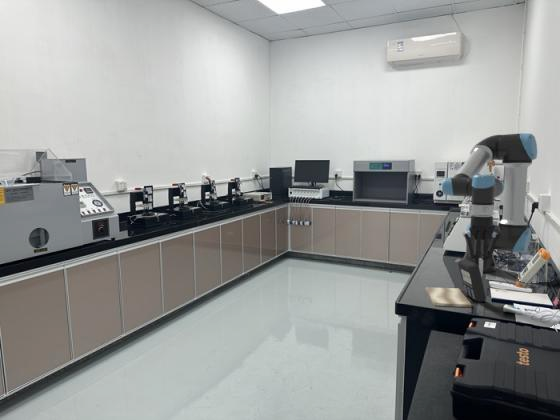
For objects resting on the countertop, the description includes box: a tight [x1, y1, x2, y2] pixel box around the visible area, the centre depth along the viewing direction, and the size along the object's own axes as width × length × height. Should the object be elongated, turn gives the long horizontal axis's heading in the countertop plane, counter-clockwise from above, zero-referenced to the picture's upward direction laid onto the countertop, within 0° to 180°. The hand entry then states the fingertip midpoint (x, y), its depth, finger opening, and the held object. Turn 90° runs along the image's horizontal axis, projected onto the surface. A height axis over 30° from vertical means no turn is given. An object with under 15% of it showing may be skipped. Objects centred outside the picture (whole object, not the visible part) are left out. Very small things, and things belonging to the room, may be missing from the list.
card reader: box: [457, 259, 487, 303], centre depth 150 cm, size 9×4×15 cm, turn 5°
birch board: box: [425, 286, 472, 308], centre depth 153 cm, size 13×18×1 cm
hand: (479, 275), depth 150 cm, fingers closed
